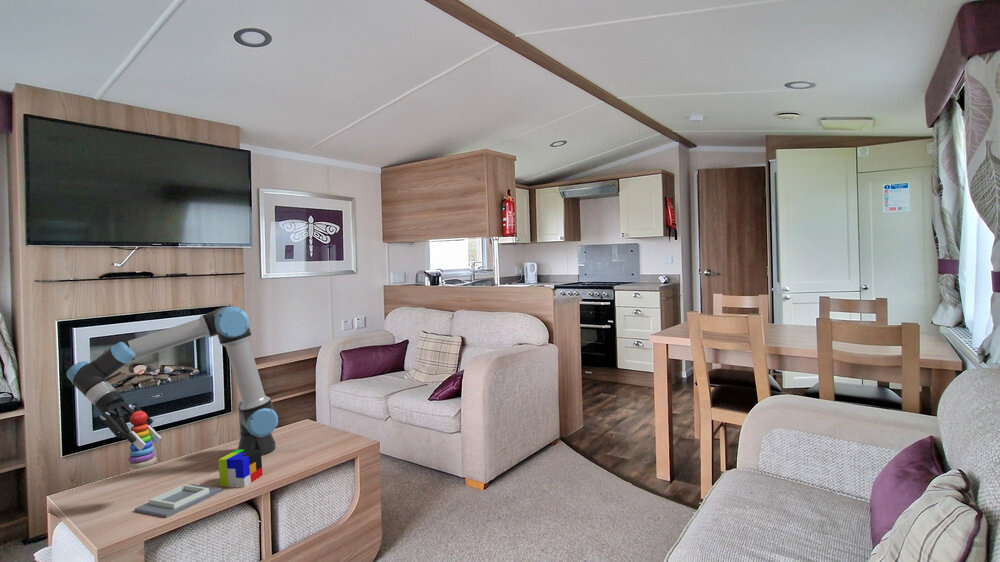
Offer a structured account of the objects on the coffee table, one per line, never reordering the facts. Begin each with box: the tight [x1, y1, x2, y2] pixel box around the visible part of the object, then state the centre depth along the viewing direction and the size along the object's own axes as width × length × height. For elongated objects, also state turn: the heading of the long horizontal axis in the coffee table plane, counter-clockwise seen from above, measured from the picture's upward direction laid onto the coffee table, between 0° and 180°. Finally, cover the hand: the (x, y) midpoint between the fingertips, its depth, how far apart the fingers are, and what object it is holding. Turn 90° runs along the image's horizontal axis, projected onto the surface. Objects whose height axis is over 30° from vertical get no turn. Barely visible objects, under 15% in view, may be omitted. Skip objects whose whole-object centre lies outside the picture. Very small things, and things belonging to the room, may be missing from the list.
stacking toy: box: [128, 410, 157, 470], centre depth 180 cm, size 8×8×19 cm
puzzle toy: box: [217, 449, 264, 488], centre depth 193 cm, size 10×10×10 cm
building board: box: [134, 483, 223, 519], centre depth 178 cm, size 20×16×2 cm
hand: (150, 443), depth 179 cm, fingers closed on stacking toy, 6 cm apart
